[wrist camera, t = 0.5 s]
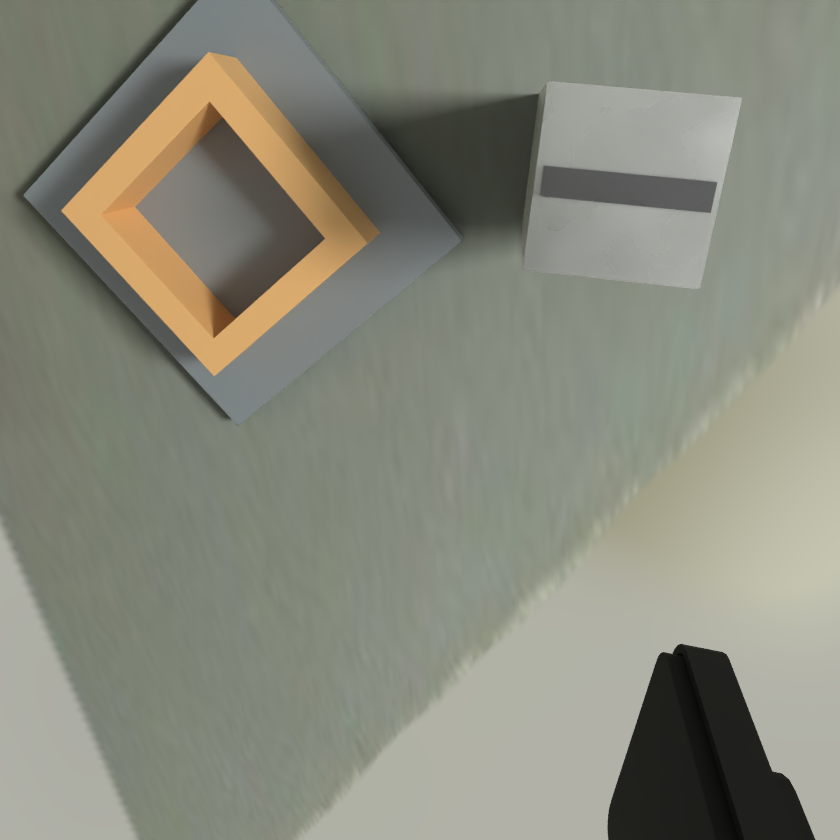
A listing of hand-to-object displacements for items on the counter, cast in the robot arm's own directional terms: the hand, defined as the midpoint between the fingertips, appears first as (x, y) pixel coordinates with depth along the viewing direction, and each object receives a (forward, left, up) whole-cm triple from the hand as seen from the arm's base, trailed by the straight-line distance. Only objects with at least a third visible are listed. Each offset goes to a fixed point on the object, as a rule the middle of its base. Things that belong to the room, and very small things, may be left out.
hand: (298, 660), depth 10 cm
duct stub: (-7, 0, -26) cm, 27 cm away
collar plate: (+6, -8, -26) cm, 28 cm away
